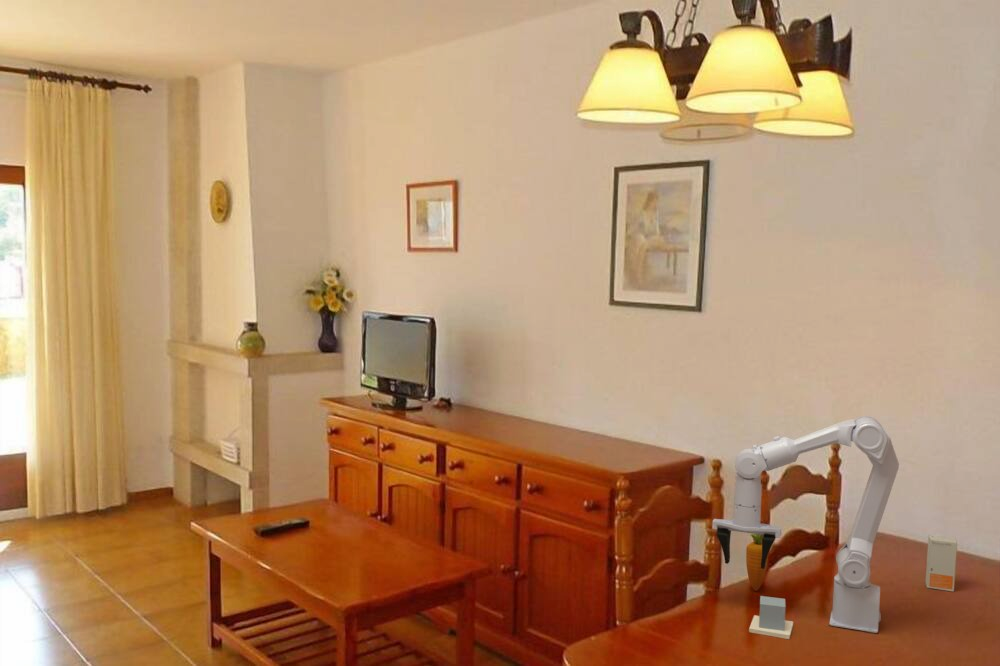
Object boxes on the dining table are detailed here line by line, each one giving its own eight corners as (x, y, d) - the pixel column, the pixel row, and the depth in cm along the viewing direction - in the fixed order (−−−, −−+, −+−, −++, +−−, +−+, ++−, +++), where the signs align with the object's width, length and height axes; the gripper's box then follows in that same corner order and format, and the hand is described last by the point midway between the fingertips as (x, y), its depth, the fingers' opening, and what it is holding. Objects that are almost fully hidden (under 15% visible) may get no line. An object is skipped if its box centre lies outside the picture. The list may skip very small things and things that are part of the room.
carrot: (767, 595, 205) (770, 531, 204) (745, 593, 206) (748, 530, 205) (765, 588, 210) (768, 526, 209) (743, 586, 211) (746, 524, 210)
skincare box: (926, 588, 212) (929, 539, 212) (925, 583, 216) (927, 534, 216) (954, 592, 210) (957, 542, 209) (953, 586, 214) (955, 538, 213)
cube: (784, 622, 187) (785, 598, 187) (784, 630, 182) (785, 607, 182) (759, 618, 189) (760, 595, 188) (759, 627, 184) (760, 604, 184)
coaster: (793, 625, 188) (793, 621, 188) (789, 639, 180) (789, 635, 180) (754, 618, 191) (754, 615, 191) (749, 632, 183) (749, 628, 183)
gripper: (783, 504, 196) (781, 564, 197) (717, 496, 202) (714, 555, 202) (780, 511, 189) (777, 573, 190) (711, 503, 195) (709, 563, 196)
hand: (745, 564), depth 196 cm, fingers open, 7 cm apart
